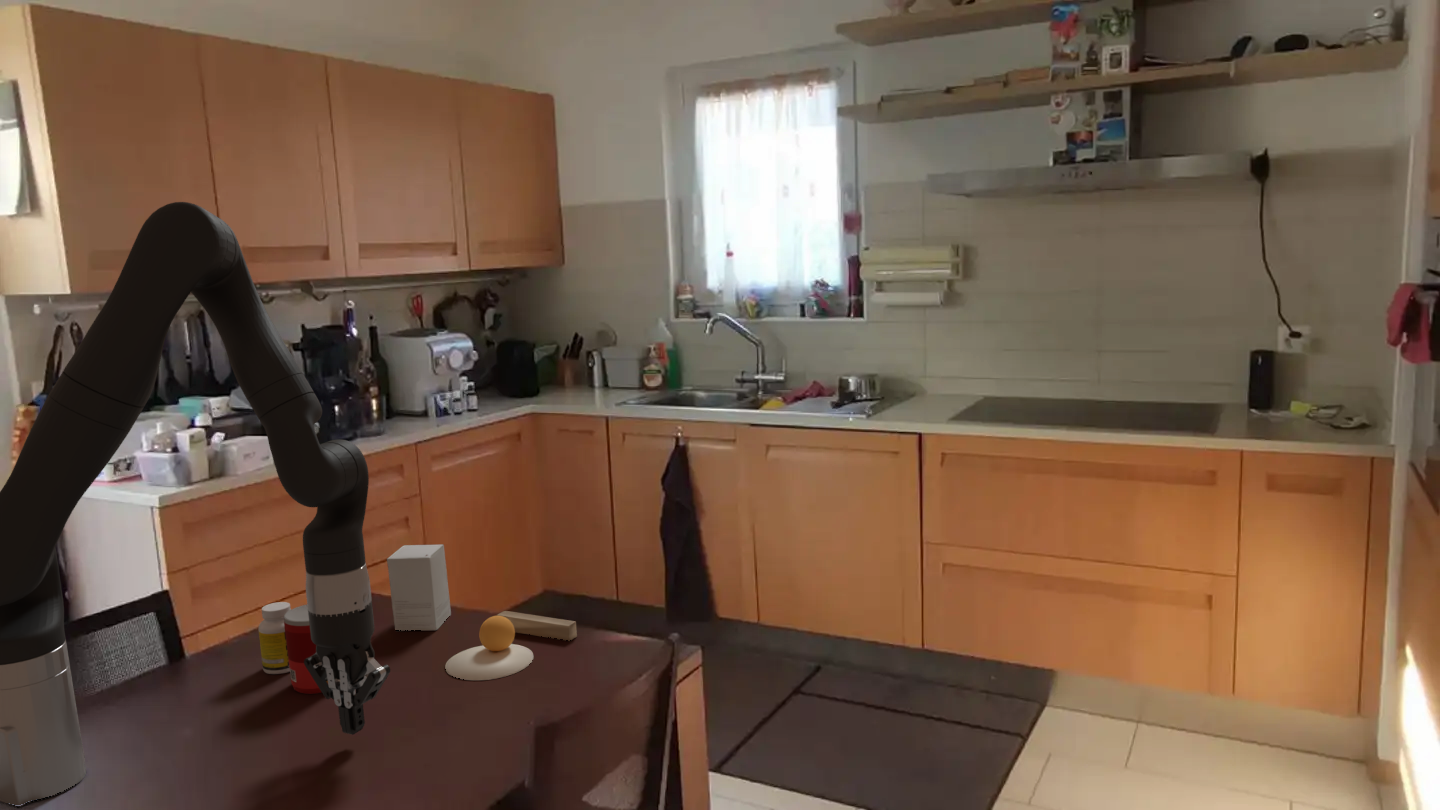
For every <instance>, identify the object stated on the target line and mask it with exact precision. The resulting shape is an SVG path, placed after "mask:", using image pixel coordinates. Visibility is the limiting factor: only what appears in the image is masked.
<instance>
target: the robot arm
mask: <svg viewBox="0 0 1440 810" xmlns="http://www.w3.org/2000/svg"><path fill="white" fill-rule="evenodd" d="M248 267H249V266H248V265H247V262H246V260H245V256H244V254H243V251H242V249H241V246H240V243H239V241H238V238H237V236H236V234H235V232H234V230H233V228H232V227H231V226H229V224H228V223H226V221H224V220H223V219H222V218H220V217H218V216H217V215H215V214H214V213H212V212H210V211H208V210H206V209H205V208H204V207H202V206H199V205H197V204H195V203H191V202H186V201H174V202H170V203H167V204H164V205H163V206H161V207H159V208H157V209H156V210H155V211H153V212H152V213H150V215H149V216H148V217H147V218H146V219H145V221H144V223H143V225H141V228H140V229H139V232H138V233H137V235H136V238H135V240H134V243H133V244H132V247H131V249H130V251H129V254H128V255H127V259H126V260H125V263H124V265H123V267H122V269H121V272H120V274H119V276H118V278H117V281H116V282H115V284H114V287H113V288H112V290H111V292H110V294H109V296H108V298H107V300H106V301H105V303H104V305H103V306H102V308H101V310H100V311H99V313H98V314H97V315H96V317H95V319H94V320H93V322H92V323H91V325H90V327H89V328H88V330H87V332H86V334H85V336H84V337H83V339H82V340H81V342H80V343H79V345H78V347H77V349H76V350H75V352H74V353H73V355H72V357H70V360H68V363H67V364H66V365H65V367H64V368H63V371H62V372H61V374H60V375H59V377H58V379H57V381H56V382H55V384H54V386H53V387H52V388H51V390H50V392H49V394H48V395H47V397H46V399H45V401H44V403H43V404H42V406H41V409H40V411H39V412H38V414H37V416H36V418H35V420H34V423H33V424H32V427H31V428H30V431H29V432H28V435H27V437H26V439H25V442H24V444H23V446H22V448H21V451H20V453H19V455H18V457H17V460H16V462H15V465H14V467H13V468H12V470H11V472H10V474H9V477H8V478H7V480H6V482H5V484H4V485H3V487H2V488H1V490H0V802H2V803H5V804H7V803H10V804H14V805H21V804H24V803H26V802H28V801H31V800H36V799H41V798H45V797H48V796H51V795H54V796H56V795H58V794H57V793H59V792H61V793H63V792H65V791H67V790H69V789H71V788H73V787H74V786H75V784H76V785H78V783H80V782H81V781H82V780H83V779H84V778H85V776H86V774H87V768H86V761H85V760H86V759H85V752H84V748H83V741H82V736H81V729H80V721H79V716H78V709H77V704H76V703H77V702H76V696H75V691H74V690H75V689H74V686H73V685H74V684H73V678H72V670H71V664H70V658H69V652H68V644H67V638H66V633H65V622H64V621H65V607H64V604H65V603H64V597H63V591H62V583H61V576H60V574H61V573H60V567H59V561H58V553H57V549H56V548H57V547H56V545H57V544H58V541H59V539H60V537H61V535H62V533H63V530H64V529H65V526H66V525H67V523H68V520H69V518H70V516H71V514H73V513H72V512H73V511H74V510H75V507H76V506H77V505H78V503H79V502H80V500H81V499H82V497H83V496H84V495H85V493H86V492H87V491H88V490H89V488H90V487H91V486H92V484H93V483H94V482H95V481H96V479H97V478H98V477H99V475H100V474H102V472H103V470H104V469H105V468H106V466H107V465H108V464H109V463H110V461H111V460H112V458H113V456H115V454H116V452H117V451H118V449H119V448H120V446H121V445H122V444H123V443H124V442H125V439H126V438H127V436H128V435H129V433H130V432H131V430H132V428H133V426H135V423H136V421H137V420H138V418H139V417H140V415H141V413H142V411H144V407H145V406H146V404H147V402H148V400H149V399H150V396H151V394H152V391H153V389H154V386H155V383H156V381H157V376H158V372H159V368H160V363H161V360H162V359H161V358H162V354H163V350H164V345H165V340H166V338H167V335H168V332H169V329H170V327H171V326H172V322H173V320H174V319H175V317H176V316H177V314H178V312H179V310H180V309H181V308H182V306H183V305H184V303H185V302H186V299H188V297H189V295H190V294H191V295H193V297H194V298H195V299H196V300H197V301H198V302H199V304H200V305H201V307H202V308H203V309H204V310H205V311H206V313H207V314H208V316H209V319H211V322H212V323H213V324H214V327H215V328H216V330H217V333H218V334H219V336H220V338H221V340H222V343H223V345H224V348H225V351H226V354H227V358H228V360H229V364H230V366H231V369H232V371H233V374H234V377H235V379H236V381H237V384H238V386H239V387H240V390H241V391H242V393H243V395H244V396H245V399H246V400H247V402H248V404H249V405H250V407H251V408H252V410H253V411H254V414H255V416H256V417H257V418H258V420H259V422H260V424H261V425H262V426H263V428H264V430H265V433H266V437H267V441H268V446H269V449H270V454H271V455H272V459H273V464H274V466H275V469H276V473H277V476H278V480H279V481H280V484H281V486H282V487H283V489H284V491H285V492H286V493H287V494H288V495H289V496H290V498H292V500H294V501H296V502H297V503H298V504H300V505H302V506H303V507H308V508H316V514H315V516H314V517H313V519H312V520H311V521H310V522H309V523H308V524H307V525H306V527H305V528H304V530H303V533H302V549H303V557H304V567H305V593H306V594H305V595H306V605H307V606H308V615H309V624H310V633H311V640H312V642H313V643H314V644H315V645H316V653H315V654H314V655H312V656H310V657H308V658H306V659H305V660H304V665H305V666H306V668H307V670H308V671H309V673H310V674H311V676H312V678H313V679H314V681H315V682H316V684H317V685H318V687H319V689H320V690H321V692H322V693H321V694H322V695H323V696H324V698H325V699H326V700H330V699H332V700H334V704H335V705H336V707H338V717H339V725H340V728H341V731H342V733H344V734H348V735H352V736H353V735H355V734H357V733H358V732H361V731H362V730H363V728H364V726H365V724H366V721H365V712H364V704H365V703H367V702H369V701H371V700H373V699H375V698H376V696H377V695H378V694H379V691H380V690H381V688H382V686H383V685H384V683H385V681H386V679H388V676H389V675H390V673H391V667H390V666H389V665H388V664H384V665H381V664H380V663H379V662H378V661H377V660H376V659H375V656H376V655H375V654H376V653H375V650H374V647H373V645H372V643H371V639H372V638H373V634H374V632H375V630H376V629H375V620H374V619H375V618H374V611H373V601H372V599H373V598H372V588H371V581H370V575H369V572H368V567H367V563H366V552H365V542H364V534H363V527H364V521H365V516H366V511H367V504H368V502H367V501H368V493H369V485H370V484H369V482H370V481H369V468H368V464H367V461H366V458H365V455H364V454H363V452H362V451H361V449H359V447H358V446H357V445H356V444H354V443H353V442H351V441H350V440H349V441H348V440H347V439H332V440H329V441H326V442H322V443H320V441H319V439H318V436H317V433H316V430H315V426H314V425H315V424H317V423H318V422H319V421H320V420H321V417H322V416H323V408H322V405H321V403H320V400H319V399H318V397H317V395H316V393H315V392H314V390H313V388H312V387H311V385H310V383H309V381H308V380H307V378H306V376H305V374H304V373H303V371H302V370H301V368H300V366H299V364H298V363H297V361H296V360H295V358H294V356H293V355H292V353H291V352H290V349H289V347H287V345H286V343H285V342H284V339H283V338H282V336H281V335H280V333H279V331H278V330H277V328H276V326H275V325H274V323H273V320H272V319H271V317H270V316H269V313H268V311H267V309H266V307H265V305H264V303H263V302H262V299H261V297H260V295H259V293H258V290H257V288H256V285H255V283H254V281H253V278H252V275H251V273H250V271H249V268H248ZM326 679H328V684H327V682H326ZM72 786H73V787H72ZM70 787H71V788H70ZM68 788H69V789H68ZM66 789H67V790H66ZM64 790H65V791H64ZM55 794H56V795H55ZM59 794H60V793H59ZM51 797H52V796H51ZM48 798H49V797H48ZM45 799H46V798H45ZM41 800H42V799H41ZM10 804H9V805H10ZM24 805H25V804H24Z"/></svg>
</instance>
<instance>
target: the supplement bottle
mask: <svg viewBox="0 0 1440 810" xmlns="http://www.w3.org/2000/svg"><path fill="white" fill-rule="evenodd" d="M291 609H292V608H291V603H290V602H286V601H280V602H279V601H277V602H272V603H269V604H266V605H264V606H263V607H261V616H262V619H263V620H262V621H261V622H260V623H259V624H258V637H259V638H258V639H259V646H260V655H261V664H262V670H263V672H264V673H265V674H269V675H280V674H281V675H282V674H286V673H290V668H289V660H288V652H287V644H286V636H285V628H284V615H285V613H286V612H288V611H289V610H291Z"/></svg>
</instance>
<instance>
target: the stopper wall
mask: <svg viewBox="0 0 1440 810" xmlns="http://www.w3.org/2000/svg"><path fill="white" fill-rule="evenodd" d="M496 616H503V617H506V618H507V619H509V620H510V621H511V622H512V624H513V626H514V629H515V633H516V634H524V635H529V634H530V636H537V637H541V636H542V637H544V638H548V637H549V639H554V638H557V639H556V640H560V639H563V640H562V641H566V640H568V641H567V642H571V641H572V640H574V639H575V638H577V637H578V634H577V633H578V631H577V621H576V620H575V621H574V620H570V619H569V620H567V619H563V618H555V617H550V616H549V617H548V616H543V615H537V614H536V615H535V614H530V613H523V612H516V611H508V610H504V611H501V612H500V613H498V614H496ZM550 637H551V638H550ZM570 640H571V641H570Z"/></svg>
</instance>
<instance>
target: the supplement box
mask: <svg viewBox="0 0 1440 810" xmlns="http://www.w3.org/2000/svg"><path fill="white" fill-rule="evenodd" d="M386 563H387V570H388V571H387V572H388V579H389V587H390V596H391V598H390V599H391V607H392V614H393V622H394V623H393V624H394V629H395V630H399V631H398V632H404V631H405V630H406V631H405V632H409V631H411V630H414V631H415V630H421V631H437V630H439V628H440V627H441V626H442V625H443V624H444V623H445V622H446V621H447V620H448V619H449V618H450V617H451V616H452V611H451V610H452V609H451V601H450V593H449V591H450V590H449V583H448V582H449V581H448V571H447V561H446V552H445V545H444V544H441V543H440V544H412V545H411V544H408V545H407V544H405V545H402V546H401V547H400V548H398V549H397V550H396V551H395V552H394V553H392V554H391V555H390V556H388V558H387V557H386ZM449 616H450V617H449ZM448 617H449V618H448ZM447 618H448V619H447ZM446 619H447V620H446ZM444 621H445V622H444ZM395 630H394V631H395ZM400 630H401V631H400ZM407 630H408V631H407Z"/></svg>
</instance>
